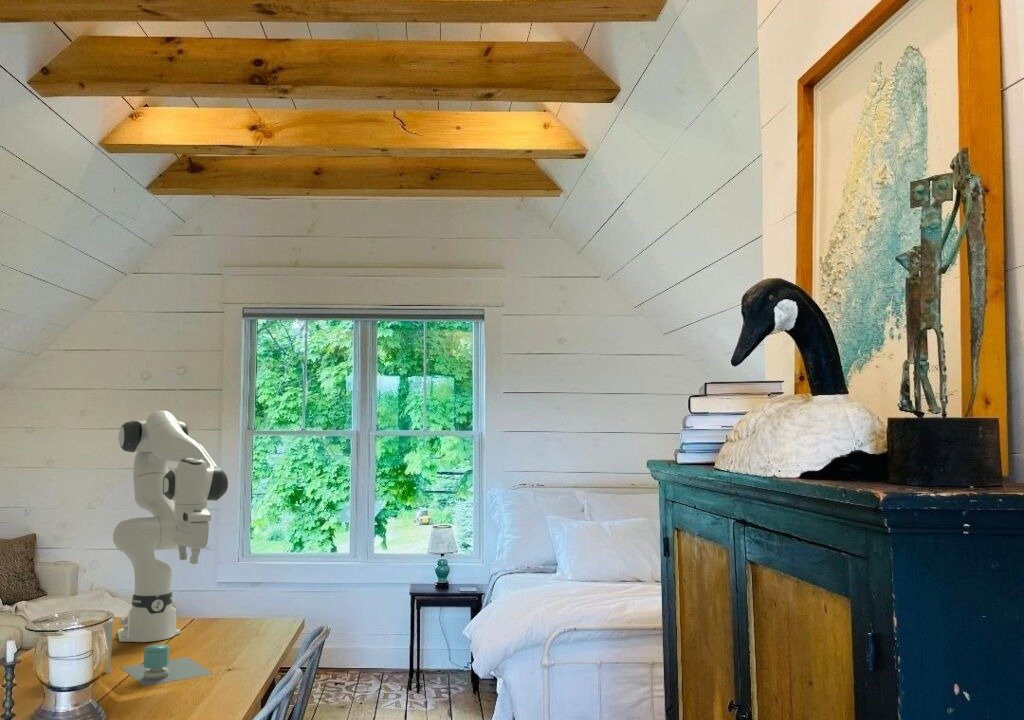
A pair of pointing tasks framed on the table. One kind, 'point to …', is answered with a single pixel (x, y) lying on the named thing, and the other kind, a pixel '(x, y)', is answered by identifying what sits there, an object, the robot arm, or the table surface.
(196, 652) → the table surface
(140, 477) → the robot arm
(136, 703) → the table surface
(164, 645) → the cap
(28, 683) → the table surface
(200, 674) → the post board
